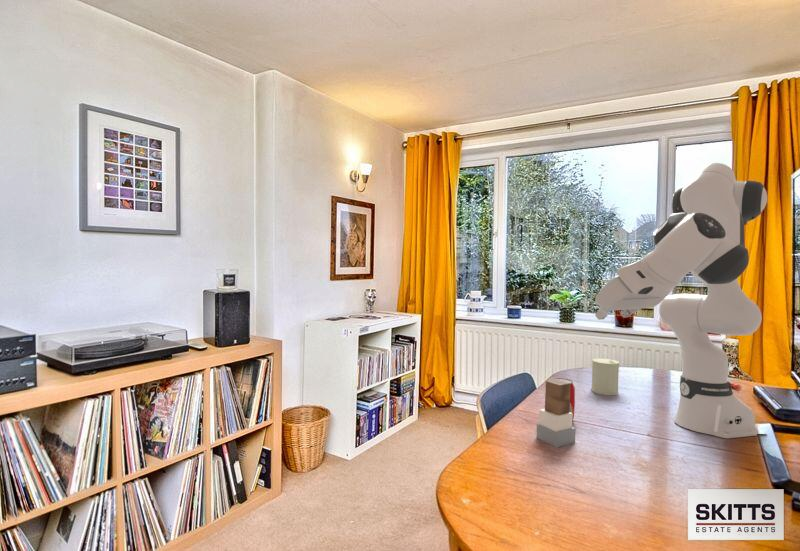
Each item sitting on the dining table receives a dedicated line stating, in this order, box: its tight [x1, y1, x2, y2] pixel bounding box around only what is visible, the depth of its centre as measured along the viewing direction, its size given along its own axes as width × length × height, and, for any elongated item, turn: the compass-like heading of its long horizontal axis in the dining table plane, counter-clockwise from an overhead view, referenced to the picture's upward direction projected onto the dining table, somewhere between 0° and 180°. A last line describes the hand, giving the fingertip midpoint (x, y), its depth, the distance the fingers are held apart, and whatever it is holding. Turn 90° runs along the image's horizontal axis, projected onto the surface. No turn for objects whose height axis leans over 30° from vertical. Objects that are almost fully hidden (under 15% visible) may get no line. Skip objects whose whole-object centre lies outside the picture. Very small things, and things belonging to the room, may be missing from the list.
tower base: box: [536, 423, 576, 448], centre depth 120 cm, size 7×7×4 cm
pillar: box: [544, 378, 571, 415], centre depth 119 cm, size 4×4×8 cm
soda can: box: [552, 377, 576, 421], centre depth 135 cm, size 7×7×12 cm
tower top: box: [538, 408, 573, 432], centre depth 120 cm, size 6×6×4 cm
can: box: [590, 357, 620, 396], centre depth 164 cm, size 9×9×12 cm
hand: (611, 316), depth 107 cm, fingers open, 8 cm apart
